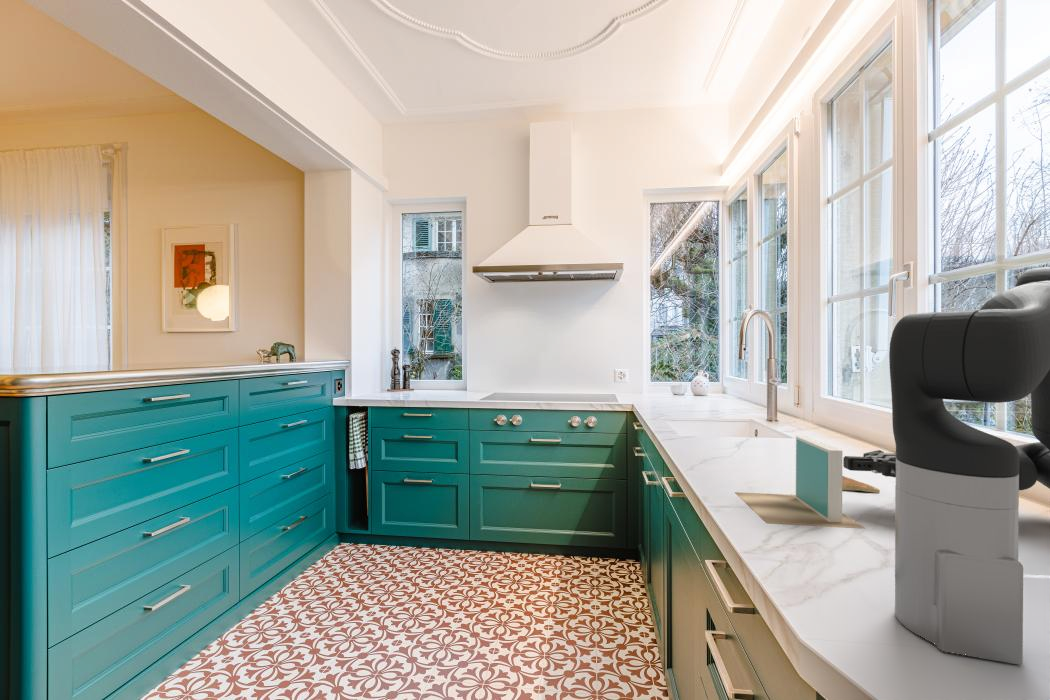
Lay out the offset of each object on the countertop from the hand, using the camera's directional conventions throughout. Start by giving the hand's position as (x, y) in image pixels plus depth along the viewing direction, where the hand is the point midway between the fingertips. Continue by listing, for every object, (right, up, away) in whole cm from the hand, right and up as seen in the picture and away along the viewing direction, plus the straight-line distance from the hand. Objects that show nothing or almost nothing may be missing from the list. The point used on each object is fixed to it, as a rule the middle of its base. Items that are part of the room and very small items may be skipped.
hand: (845, 463), depth 80 cm
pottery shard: (+10, -10, +13) cm, 20 cm away
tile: (-5, -9, +1) cm, 10 cm away
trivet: (-9, -9, +1) cm, 13 cm away
